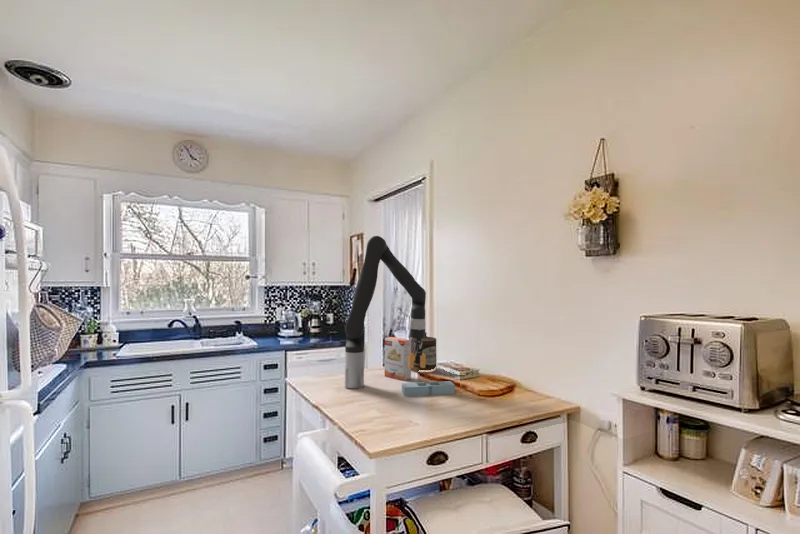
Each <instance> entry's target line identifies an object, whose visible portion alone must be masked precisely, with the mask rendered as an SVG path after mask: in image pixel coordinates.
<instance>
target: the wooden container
mask: <svg viewBox="0 0 800 534" xmlns="http://www.w3.org/2000/svg"><path fill="white" fill-rule="evenodd" d="M427 334H428V333H427V332H426V331H425V338H421V342H422V345H423V350H422V353H425V354H426V363H425V368H421V367H420V364H416V363H415V362H414V365H413V368H411V371H412V372H414V373H417V372H418V371H419V370H431V369H434V368H435V367H436V368H437V359H438V358H437V338H436V337H433V336H427ZM410 338H411V337H410ZM413 339H414V338H411V339H410V340H411V353H413V351H412V340H413Z"/></svg>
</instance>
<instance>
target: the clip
mask: <svg viewBox="0 0 800 534" xmlns="http://www.w3.org/2000/svg"><path fill="white" fill-rule="evenodd" d="M414 361H415V353H408V367H409V368H413V365H414ZM425 363H426V354H425V353H422V356H420V367H421V368H425Z"/></svg>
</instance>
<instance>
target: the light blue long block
mask: <svg viewBox="0 0 800 534" xmlns="http://www.w3.org/2000/svg"><path fill="white" fill-rule="evenodd" d="M401 393H402V395H403V396H404V397H417V396H435V395H436V396H437V395H454V394H456V384H454V383H453V382H452V381H451V380H448V381H447V380H445V381H441V380H440V381H424V382H423V381H422V382H421V381H419V382H406V383H405V382H404V383H401Z"/></svg>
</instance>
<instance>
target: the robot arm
mask: <svg viewBox="0 0 800 534" xmlns="http://www.w3.org/2000/svg"><path fill="white" fill-rule="evenodd" d="M363 260H364V261H363V264H362V267H361V269H360V273H359V276H358V279H357V282H356V287H355V290H354V295H353V299H352V307H351V311H350V314H349V316H348V318H347V321H346V323H345V326H344V332H345V336H346V337H345V339H346V340H345V350H344V351H345V353H344V354H345V355H344V359H345V360H344V361H345V362H344V363H345V364H344V387H345V388H346V389H361V388H363V387H364V386H365V341H366V340H365V337H366V335H365V333H366V327H365V322H366V321H365V319H366V316H367V311H368V308H369V307H370V304H371V301H372V299H373V296H374V293H375V291H376V285H377V281H378V275H379V274H378V273H379V272H378V271H379V265H380V263H381V262H383V264H384V265H385V266H386V267H387V268H388V270H389V271H390V273H391V274H392V275H393V277H394V278H395V279H396V280H397V282H398V283H399V284H400V285H401V286H402V287H403V288H404V289H405V291H406V292H407V294H408V295H409V297H411V309H410V321H409V323H410V324H409V337H410V338H414V339H413V340H412V351H413V353H415V361H414V362H415V363H416V364H420V356H422V350H423V345H422V342H421V338H425V332H426V299H427V296H426V295H427V292H426V289H424V288H423V287H422V286H421V284H419V283H418V282H417V281H416V279H415V277H414V276H413V275H412V274H411V273H410V272H409V270H408V269H407V268H406V267H405V266H404V265H403V264H402V263H401V262H400V260H399V259H398V258H397V257H396V256H395V255H394V253H393V252H392V251H391V250H390V247H389V246H388V245H387V242H386V240H385V239H384V238H383V237H381V236H379V235H373V236H371V237H370V238H369V239H368V241H367V243H366V249H365V256H364V259H363ZM380 261H381V262H380Z"/></svg>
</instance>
